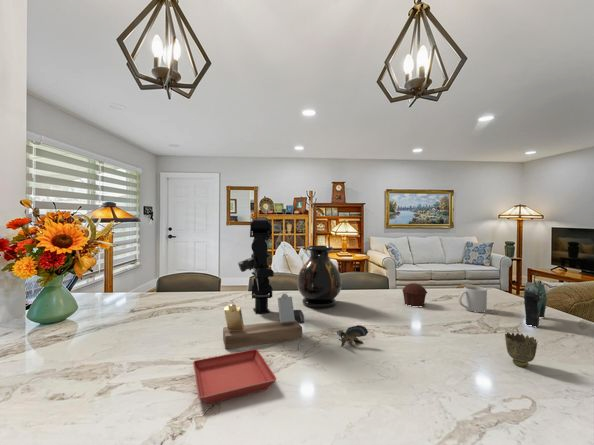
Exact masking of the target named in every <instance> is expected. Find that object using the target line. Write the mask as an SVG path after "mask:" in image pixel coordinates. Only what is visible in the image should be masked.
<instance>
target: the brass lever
mask: <svg viewBox="0 0 594 445" xmlns="http://www.w3.org/2000/svg"><path fill="white" fill-rule="evenodd" d="M223 312H224V315H225V316H224V317H225V321H226V325H227V326H226V327H228V330H236V331H243V329H244V325H245V324H244V320H243V314H242V312H243V311H242V307H239V306H236V304H235V303H233V304H229V305H228V306H225V307H224V309H223Z"/></svg>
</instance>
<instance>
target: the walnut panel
mask: <svg viewBox="0 0 594 445" xmlns="http://www.w3.org/2000/svg"><path fill="white" fill-rule="evenodd" d="M222 339H223V340H222V341H223V345H224V349H225V350H229V349H235V348H241V347H242V348H243V347H248V346H257V345H264V344H272V343H278V342H287V341H295V340H302V339H303V326H302V325H301V323H298V322H297V321H296V320H295V321H294V322H285V323H280V320H277V321H269V322H261V323H253V324H252V323H251V324H244V329H243V331H236V330H228V327H227V326H226V327H222Z"/></svg>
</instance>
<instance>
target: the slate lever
mask: <svg viewBox="0 0 594 445" xmlns="http://www.w3.org/2000/svg"><path fill="white" fill-rule="evenodd" d="M277 305H278V306H277V307H278V312H279V313H278V314H279V316H278V317H279V321H280V323H285V322H294V321H295V318H294V310H295V309H294V303H293V296H289V295H288V294H287V293H282V295H281V297H278V298H277Z"/></svg>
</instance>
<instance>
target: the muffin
mask: <svg viewBox="0 0 594 445" xmlns="http://www.w3.org/2000/svg"><path fill="white" fill-rule="evenodd" d="M427 294H428V291H427V290H426V288H425V287H424V286H423V285H421V284H420V283H414V282H413V283H408V284H406V285H405V286H404V287H403V289H402V295H403V300H404V305H406V304H407V305H406V306H408V305H411V306H410V307H412V306H423V307H425V303H426V302H425V300H426V296H427Z"/></svg>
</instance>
